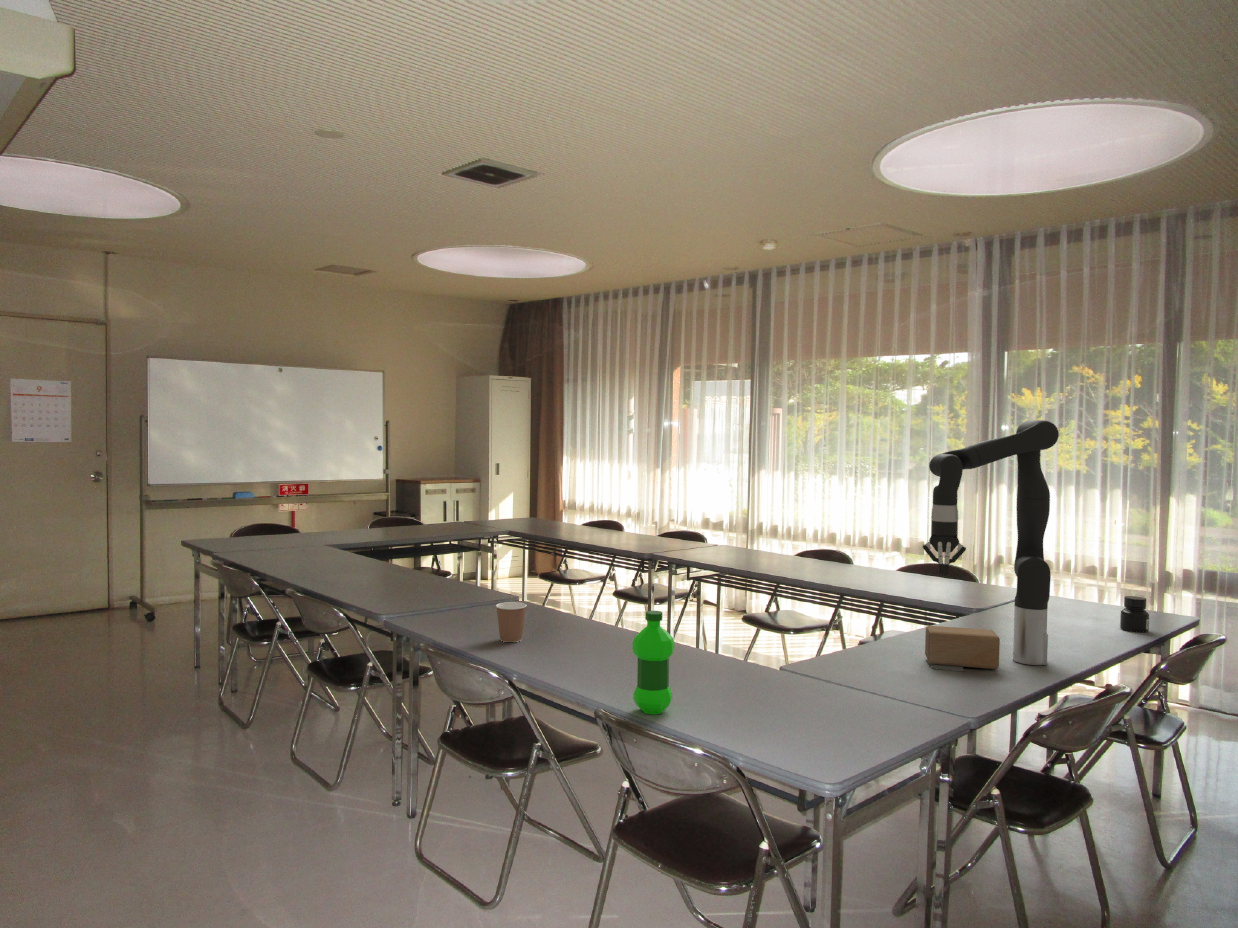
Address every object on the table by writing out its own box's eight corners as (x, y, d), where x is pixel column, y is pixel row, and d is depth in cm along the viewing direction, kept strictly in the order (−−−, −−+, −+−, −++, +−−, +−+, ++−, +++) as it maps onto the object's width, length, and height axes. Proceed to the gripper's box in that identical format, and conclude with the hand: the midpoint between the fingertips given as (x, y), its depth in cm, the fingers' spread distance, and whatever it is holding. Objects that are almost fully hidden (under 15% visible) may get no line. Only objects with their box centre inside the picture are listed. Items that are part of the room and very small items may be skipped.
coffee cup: (529, 637, 280) (529, 602, 279) (522, 644, 269) (523, 608, 269) (499, 636, 281) (499, 601, 280) (492, 643, 270) (492, 607, 270)
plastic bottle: (676, 717, 203) (677, 616, 202) (633, 717, 202) (635, 616, 201) (670, 703, 212) (671, 607, 212) (630, 704, 212) (631, 608, 211)
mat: (961, 660, 257) (961, 658, 257) (963, 671, 245) (963, 669, 245) (930, 657, 260) (930, 655, 260) (931, 668, 248) (931, 666, 248)
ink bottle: (1154, 633, 296) (1156, 600, 295) (1130, 633, 296) (1131, 600, 295) (1138, 627, 305) (1139, 595, 305) (1114, 626, 305) (1115, 594, 305)
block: (928, 664, 250) (999, 670, 245) (929, 631, 249) (1000, 636, 244) (924, 655, 259) (993, 661, 254) (925, 624, 259) (994, 629, 254)
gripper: (967, 519, 252) (966, 575, 253) (921, 517, 257) (920, 572, 257) (968, 521, 245) (967, 579, 246) (921, 519, 250) (920, 576, 250)
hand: (943, 575), depth 252 cm, fingers closed
